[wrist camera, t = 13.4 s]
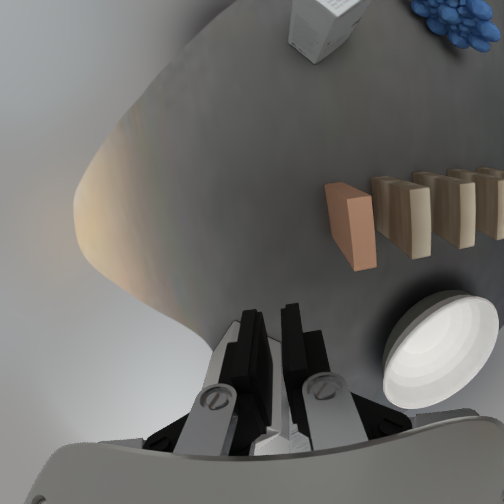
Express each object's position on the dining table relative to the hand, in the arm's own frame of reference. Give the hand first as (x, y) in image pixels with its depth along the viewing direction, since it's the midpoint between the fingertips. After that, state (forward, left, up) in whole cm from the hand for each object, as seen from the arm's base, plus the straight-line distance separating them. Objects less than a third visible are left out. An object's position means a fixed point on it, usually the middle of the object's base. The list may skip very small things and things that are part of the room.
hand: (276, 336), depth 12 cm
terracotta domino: (-7, 0, -21) cm, 22 cm away
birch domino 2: (-18, 0, -21) cm, 28 cm away
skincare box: (-9, -20, -21) cm, 31 cm away
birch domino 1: (-13, 0, -21) cm, 25 cm away
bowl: (-20, +20, -21) cm, 35 cm away
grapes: (-26, -23, -21) cm, 41 cm away
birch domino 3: (-24, 0, -21) cm, 32 cm away
